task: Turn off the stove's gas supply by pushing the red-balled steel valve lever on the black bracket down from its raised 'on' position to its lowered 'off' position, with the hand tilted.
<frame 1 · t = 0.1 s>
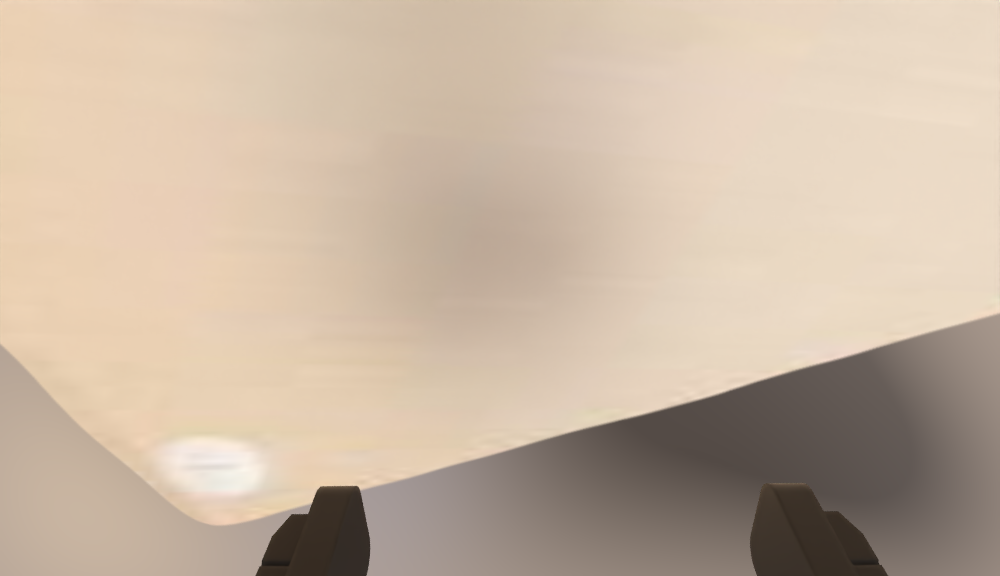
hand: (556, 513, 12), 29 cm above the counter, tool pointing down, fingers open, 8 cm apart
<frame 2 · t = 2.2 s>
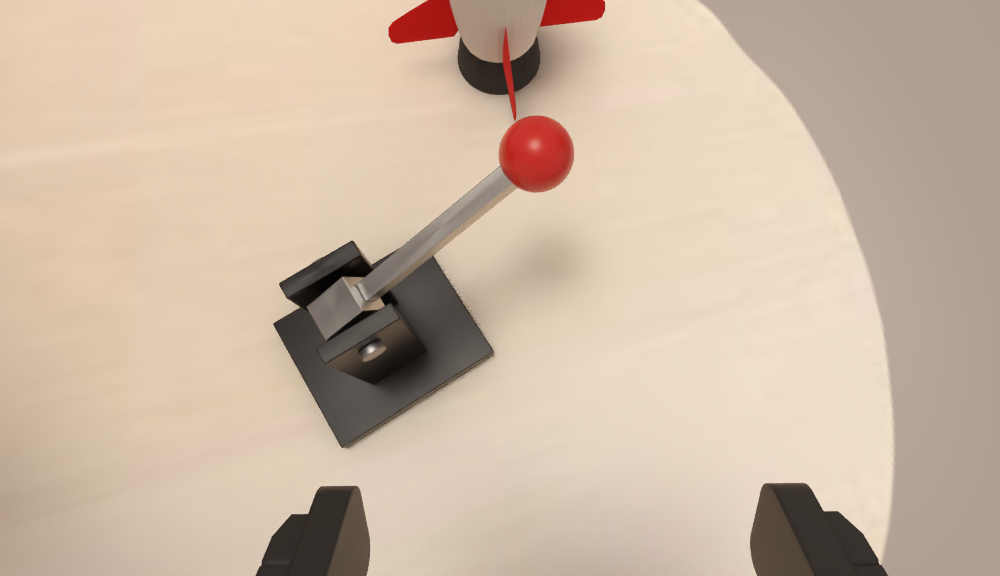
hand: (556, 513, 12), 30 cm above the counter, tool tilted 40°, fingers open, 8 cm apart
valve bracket: (385, 340, 44), on the counter
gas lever: (439, 233, 31), point 14 cm above the counter, hinge at 24.0°
toy rocket: (497, 59, 49), on the counter
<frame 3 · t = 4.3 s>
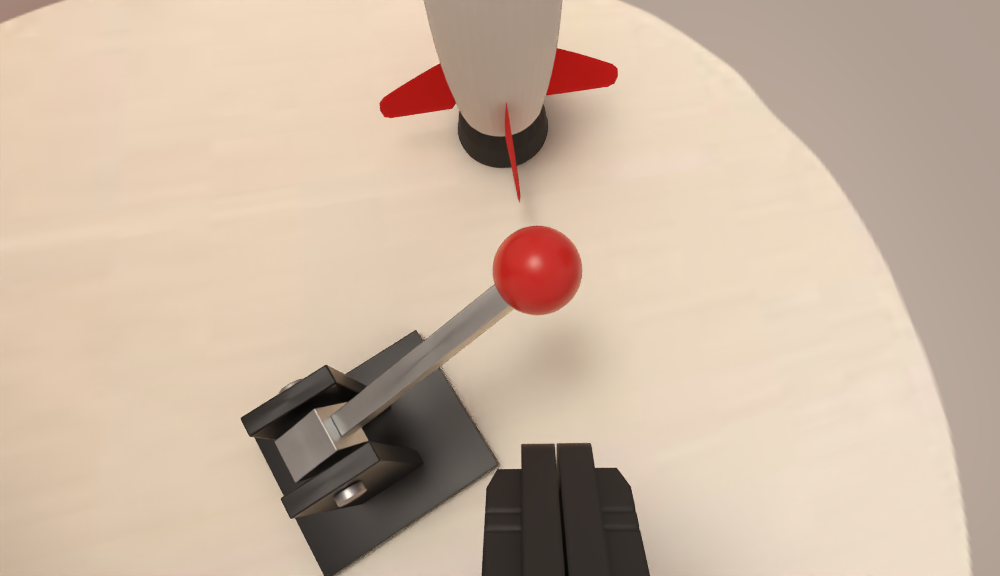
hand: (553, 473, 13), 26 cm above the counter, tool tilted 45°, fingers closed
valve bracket: (377, 448, 39), on the counter
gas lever: (425, 358, 27), point 14 cm above the counter, hinge at 24.0°
toy rocket: (501, 128, 45), on the counter
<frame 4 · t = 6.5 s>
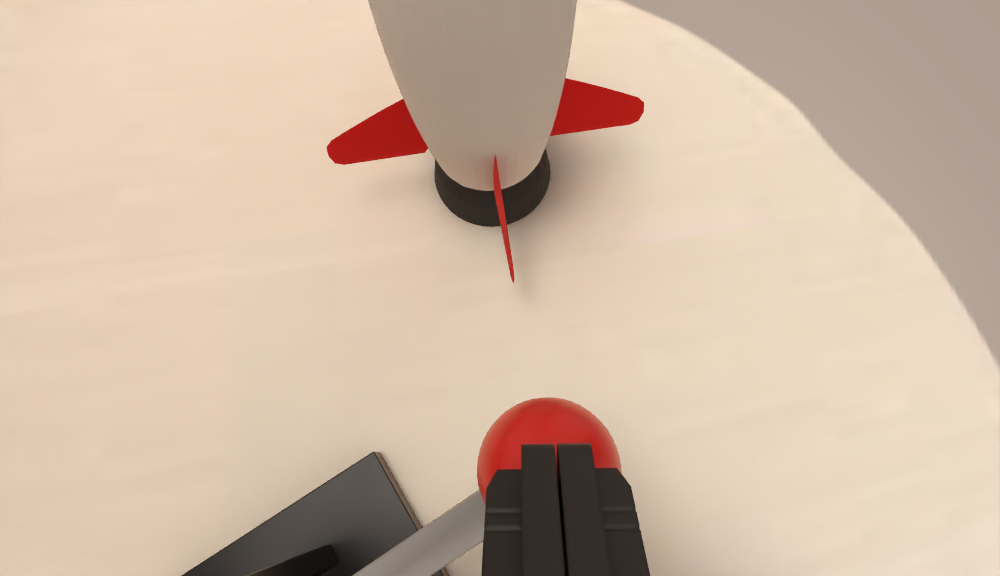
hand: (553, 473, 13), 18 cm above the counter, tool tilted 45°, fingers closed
toy rocket: (490, 174, 35), on the counter
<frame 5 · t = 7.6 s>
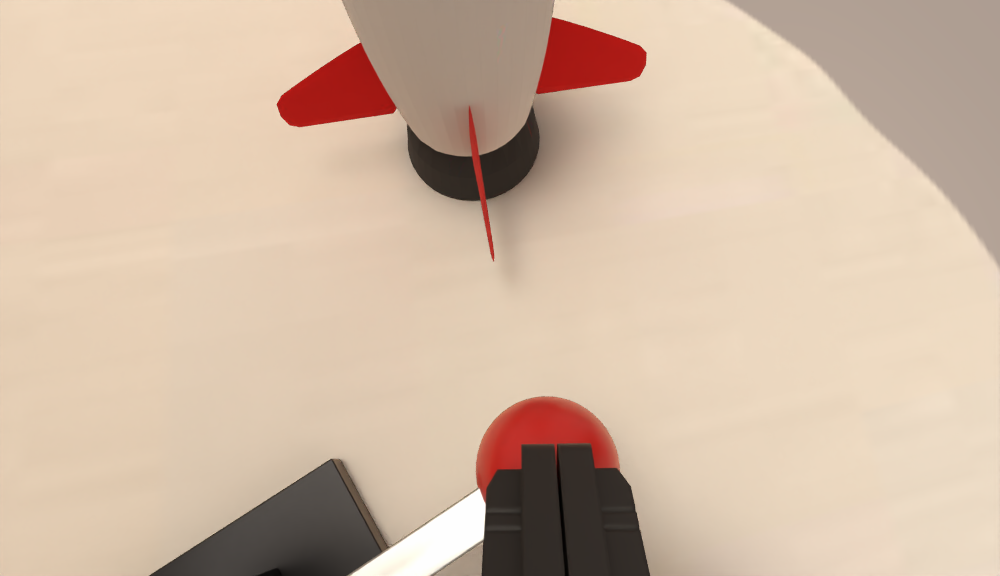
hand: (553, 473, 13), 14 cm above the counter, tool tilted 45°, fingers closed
toy rocket: (471, 142, 31), on the counter
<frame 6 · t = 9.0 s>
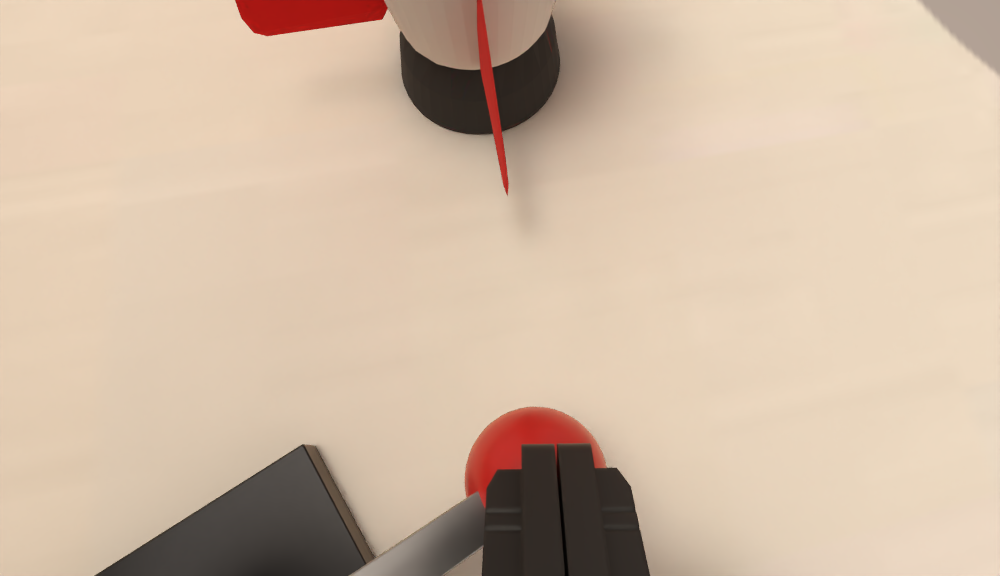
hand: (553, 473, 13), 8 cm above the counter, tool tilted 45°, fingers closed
toy rocket: (478, 67, 26), on the counter
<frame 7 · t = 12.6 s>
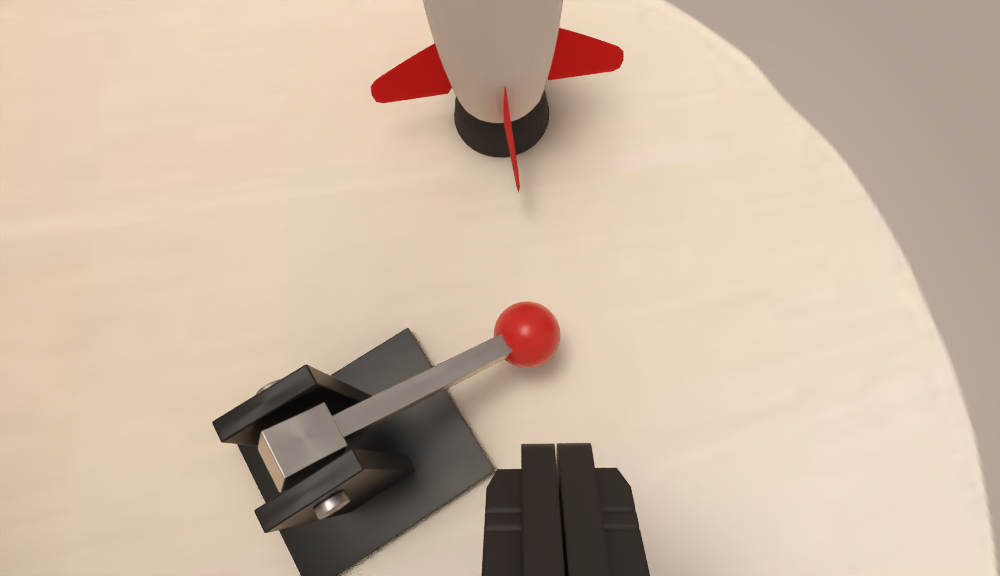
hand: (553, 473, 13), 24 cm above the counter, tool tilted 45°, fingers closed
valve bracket: (366, 453, 37), on the counter
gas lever: (431, 382, 30), point 8 cm above the counter, hinge at -28.4°
toy rocket: (500, 116, 43), on the counter
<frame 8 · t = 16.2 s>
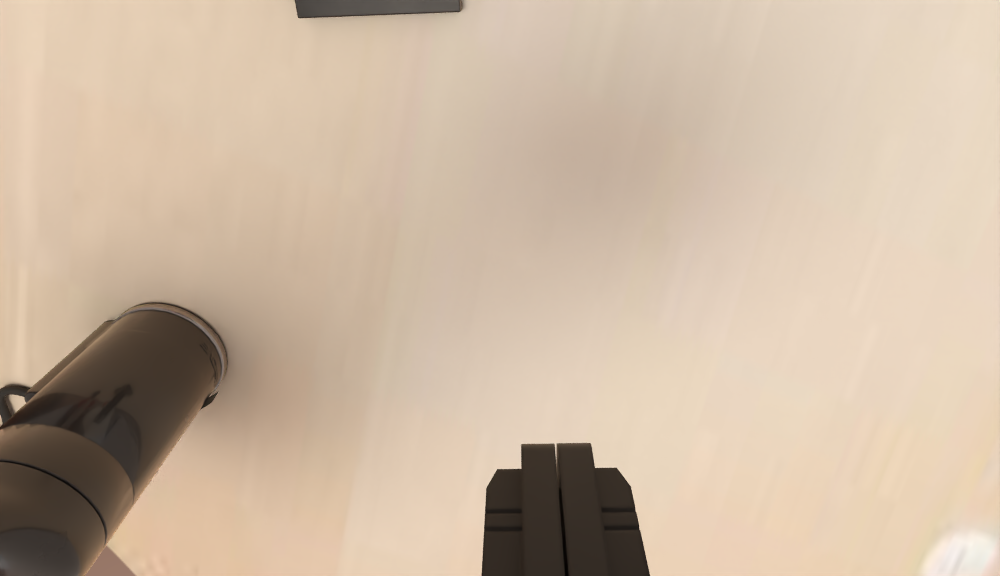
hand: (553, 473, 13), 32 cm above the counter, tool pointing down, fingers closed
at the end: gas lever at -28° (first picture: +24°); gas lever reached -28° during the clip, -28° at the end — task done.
